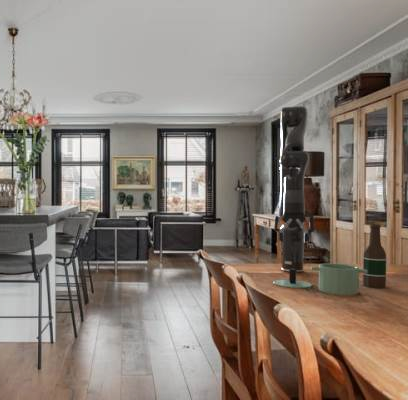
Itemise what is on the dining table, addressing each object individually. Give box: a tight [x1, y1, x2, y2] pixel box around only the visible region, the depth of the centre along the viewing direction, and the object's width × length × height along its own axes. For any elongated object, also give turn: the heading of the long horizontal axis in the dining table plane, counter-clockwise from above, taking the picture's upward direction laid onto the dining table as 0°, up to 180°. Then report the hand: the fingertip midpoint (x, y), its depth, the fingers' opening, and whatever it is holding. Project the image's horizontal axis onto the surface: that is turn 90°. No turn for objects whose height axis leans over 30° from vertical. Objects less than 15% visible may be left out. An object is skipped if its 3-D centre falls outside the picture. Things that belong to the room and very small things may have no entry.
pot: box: [310, 263, 367, 296], centre depth 159 cm, size 13×18×10 cm
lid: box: [273, 269, 313, 289], centre depth 169 cm, size 14×14×7 cm
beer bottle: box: [362, 223, 387, 289], centre depth 170 cm, size 8×8×24 cm
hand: (293, 242), depth 172 cm, fingers open, 8 cm apart
